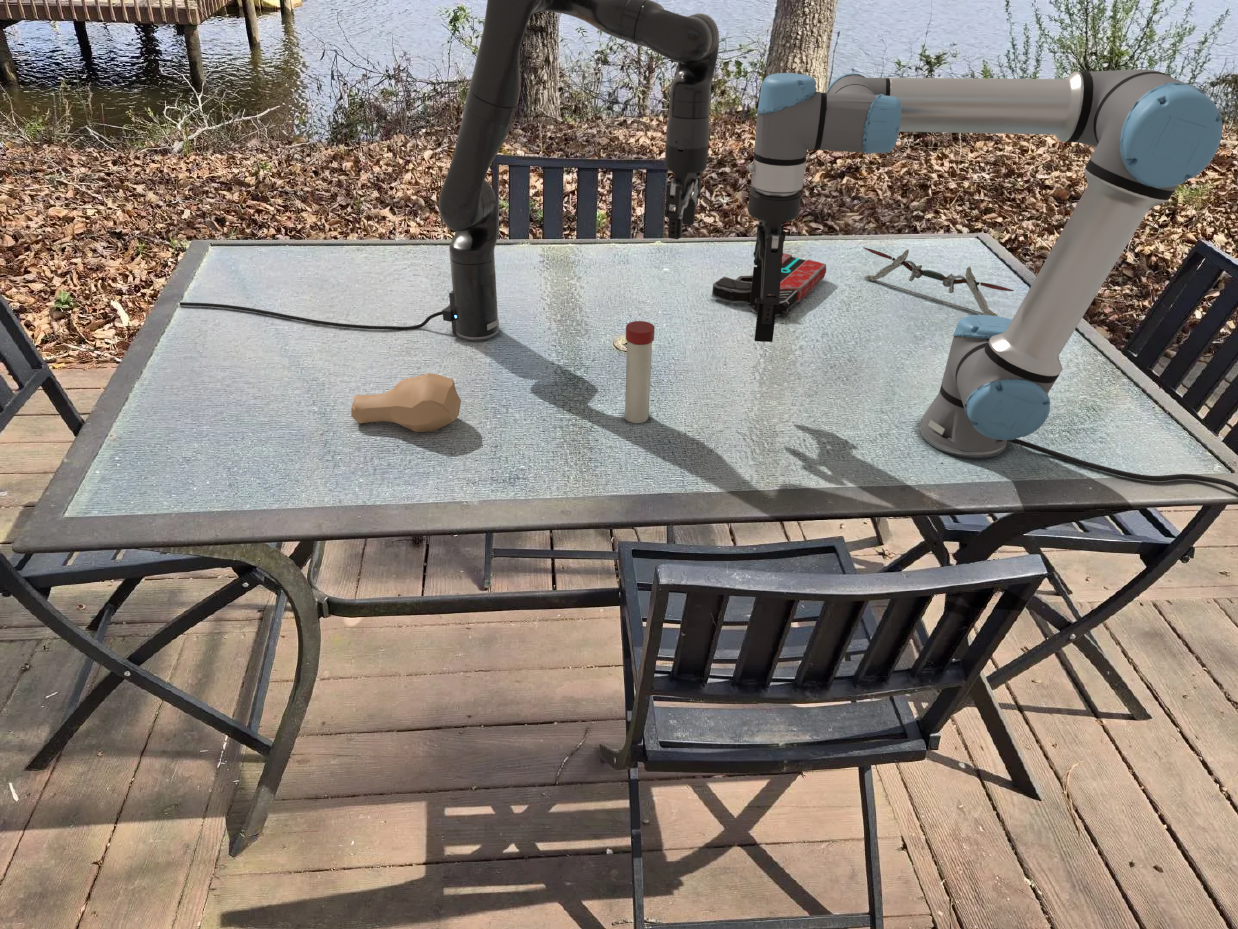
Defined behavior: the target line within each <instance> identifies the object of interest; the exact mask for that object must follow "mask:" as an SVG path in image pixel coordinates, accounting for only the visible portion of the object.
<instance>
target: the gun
mask: <svg viewBox="0 0 1238 929" xmlns="http://www.w3.org/2000/svg"><path fill="white" fill-rule="evenodd" d="M826 273H827V264H826V263H823V262H820V261H816V260H812V259H802V258H799V257H795V256H793V255H792V254H791V253H784V252H783V256H782V268H781V282H780V297H779V298H780V302H779V305H777V309H776V317H777V316H780V317H784V318H787V317H788V315H789V311H788V310H790V309H791V308H792V307H793V306H794V305H795V304H798V303H799V302H801V301H802V300H803V299H804V298H805V297H807V296H808V295H809V294H810V293H811V292H812V291H813V290H814V289H815V287H817V285H818V284H820V283H821V282H822V280H823V279H824V278H825V276H826ZM752 278H753V274H752V275H751V274H750V275H740V276H738V277H737V278H735V279H734V278H731V277H727V276H722V277H720V279H717V281H715V282H713V283H712V291H711V297H713V298H714V299H716V300H719V301H723V302H727V303H730V304H750V297H751V287H752ZM749 308H750V310H751V312H753V313H755V314H757V312H758V306H750V305H749Z"/></svg>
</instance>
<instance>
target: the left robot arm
mask: <svg viewBox="0 0 1238 929" xmlns="http://www.w3.org/2000/svg"><path fill="white" fill-rule="evenodd" d="M540 12H550V13H558V14H564V15H568V16H571V17H574V18H576V19H579V20H582V21H583V22H585V23H587V24H589V25H590V26H592V27H594V28H595V29H597V30H599V31H601V32H602V33H603V34H606V35H609V36H611V37H613V38H616V39H620V40H622V41H624V42H628V43H631V44H634V45H638V46H640V47H645V48H648V49H649V50H651V51H653V52H655V53H657V54H658V55H660V56H663V57H664V58H666V59H668V60H670V61H673V62H675V63H678V64H677V70H676V75H675V77H674V78H673V81H672V82H671V86H670V89H669V90H670V91H669V108H668V119H667V122H666V133H665V134H666V136H665V151H664V152H665V154H664V167H665V169H667V170H668V171H671V172H672V173H673V179H672V180H671V182H667V184H666V186H665V187H666V188H665V189H666V191H665V203H664V204H665V205H664V213H663V214H664V218H668V232H667V234H668V235H667V237H668V238H669V239H672V240H680V238H681V236H682V225H685V226H686V225H687V226H693V225H694V224H695V220H696V219H695V218H696V205H697V204H698V202H699V201H698V199H700V198H701V195H702V194H701V193H702V192H701V191H702V176H703V172H704V171H705V170H706V169H707V166H708V165H707V164H708V153H709V142H710V110H711V109H710V108H711V99H712V98H711V97H712V96H711V95H712V94H711V93H712V91H711V89H712V83H713V80H714V74H715V70H716V67H717V66H716V65H717V60H718V55H719V48H720V31H719V28H718V24H717V23H716V21H715V20H714V19H713V18H712V17H711V16H710V15H708V14H705V13H694V14H691V15H689V16H686V15H683V14H679V13H677V12H676V13H675V12H673V11H670V10H667V9H665V7H663V5H661V4H660V3H659V2H656V1H654V0H486V8H485V15H484V23H483V30H482V35H481V39H480V43H479V47H478V51H477V54H476V59H475V63H474V68H473V72H472V75H471V79H470V82H469V86H468V89H467V94H466V99H465V103H464V107H463V113H462V117H461V122H460V125H459V130H458V134H457V138H456V143H455V148H454V152H453V156H452V158H451V163H450V165H449V168H448V171H447V174H446V177H445V179H444V181H443V185H442V187H441V190H440V192H439V197H438V206H437V207H438V212H439V217H440V218H441V220H442V222H443V223H444V224H445V226H446V227H447V228H449V229H450V230H452V231H455V233H454V236H453V238H452V240H451V241H450V244H449V246H448V250H449V263H450V264H449V265H450V275H451V276H450V277H451V286H452V290H451V291H450V292H448V297H449V305H448V306H446V307H444V308H443V309H442V310H440V311H438V312H437V311H436V312H435V313H432V314H430V315H429V316H427V317H426V318H425V319H424V320H423V321H422V322H421V323H419V324H415V325H412V326H410V325H409V326H395V325H364V324H353V323H341V322H331V321H325V320H318V319H311V318H305V317H301V316H295V315H290V314H285V313H281V312H275V311H270V310H263V309H258V308H254V307H253V308H252V307H247V306H239V305H231V304H221V303H210V302H187V301H185V302H183V301H181V302H180V301H179V306H183V307H184V306H186V307H206V308H207V307H208V308H222V309H230V310H239V311H244V312H252V313H258V314H264V315H267V316H273V317H278V318H282V319H283V318H284V319H289V320H295V321H299V322H304V323H311V324H316V325H324V326H332V327H338V328H339V327H340V328H349V329H364V330H395V331H396V330H397V331H408V330H417V329H421V328H423V327H425V326H426V325H427V324H428V322H430V320H432V319H434V318H436V317H439V316H442V319H443V321H445V322H448V323H449V322H450V323H451V332H452V334H453V335H456V336H457V337H458V338H460V339H462V340H464V341H470V342H479V341H481V342H482V341H486V340H487V341H488V340H491V339H493V338H494V337H495V338H496V337H497V335H499V333H500V327H499V325H500V319H499V312H498V311H499V310H498V296H497V295H498V294H497V293H498V292H497V276H496V275H497V274H496V261H495V259H496V258H495V248H496V245H497V240H498V207H497V206H498V205H497V198H496V194H495V192H494V189H493V187H492V185H491V184H490V183H489V182H488V181H487V180H486V177H487V174H488V171H489V169H490V167H491V165H492V163H493V161H494V160H495V158H496V156H497V154H498V153H499V151H500V149H501V148H502V146H503V145H504V142H505V140H506V139H507V136H508V134H509V133H510V130H511V128H512V125H513V122H514V120H515V115H516V112H517V108H518V104H519V102H520V101H519V100H520V95H521V72H520V53H521V45H522V41H523V39H524V36H525V33H526V29H527V26H528V24H529V21H530V19H531V16H532V14H536V13H540ZM674 208H675V210H674Z"/></svg>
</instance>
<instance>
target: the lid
mask: <svg viewBox="0 0 1238 929" xmlns="http://www.w3.org/2000/svg"><path fill="white" fill-rule="evenodd" d="M655 328H656V327H655V325H654V324H653V323H652V322H649V321H646V320H645V321H644V320H635V321H631V322H628V323H627V324H626V325H625V340H626V342H627V341H628V342H630V343H633V344H639V345H643V344H649V343H651V342H652V343H653V342H654V340H655V330H656V329H655Z"/></svg>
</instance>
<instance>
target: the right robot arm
mask: <svg viewBox="0 0 1238 929" xmlns="http://www.w3.org/2000/svg"><path fill="white" fill-rule="evenodd" d="M757 106H758V107H757V113H756V114H757V115H756V123H755V124H756V125H755V136H754V137H755V138H754V147H753V148H754V149H753V161H752V162H753V164H749V165H748V167H747V171H748V172H752V173H751V179H750V185H751V186H752V187H751V189H750V190H749V196H748V205H747V206H748V207H747V213H748V214H749V216H750V217H752V218H753V219H756V220H758V224H757V225H756V240H755V246H754V251H753V258H754V259H753V264H754V266H753V268H752V269H753V270H752V275H753V278H752V287H751V297H750V303H749V307H750V306H758V312H757V313H756V321H755V330H754V342H761V343H762V342H763V343H773V341H774V340H773V339H774V331H775V325H776V324H775V323H776V317H777V316H776V309H777V305H779V302H780V298H779V297H780V282H781V268H782V256H783V253H784V243H785V240H786V230H785V225H783V223H786V222H791V221H794V220H795V219H797V218H798V217H799V214H800V209H801V208H800V207H801V201H802V193H801V191H800V190H802V189H803V187H804V182H805V172H806V165H807V153H808V150H814V151H831V152H832V151H833V152H848V153H859V154H860V153H861V154H865V155H870V154H887V153H890V152H892V151H893V149H894V148H895V146H896V144H897V141H898V137H899V135H900V134H899V133H900V132H903V133H905V132H906V133H947V134H949V133H950V134H952V133H953V134H999V135H1000V134H1002V135H1003V134H1006V135H1007V134H1008V135H1054V136H1055V137H1056V139H1057V140H1058V141H1059V142H1061V143H1077V144H1083V145H1088V146H1092V147H1095V148H1094V150H1093V152H1092V154H1091V156H1090V157H1089V159H1088V161H1087V163H1086V165H1085V166H1084V169H1083V172H1084V175H1085V178H1086V181H1087V186H1086V188H1085V190H1084V192H1083V193H1082V195H1081V197H1080V198H1079V200H1078V202H1077V204H1076V205H1075V207H1074V209H1073V211H1072V213H1071V215H1070V216H1069V218H1068V220H1067V222H1066V224H1065V225H1064V227H1063V229H1062V231H1061V233H1060V234H1059V236H1058V238H1057V239H1056V241H1055V243H1054V245H1053V246H1052V247H1051V250H1050V251H1049V254H1048V255H1047V257H1046V259H1045V260H1044V263H1043V264H1042V265H1041V267H1040V269H1039V271H1038V273H1037V275H1036V277H1035V279H1034V280H1033V281H1032V284H1031V285H1030V287H1029V289H1028V291H1027V293H1026V294H1025V296H1024V298H1023V300H1022V301H1021V303H1020V305H1019V307H1018V308H1017V311H1016V312H1015V314H1014V316H1013V317H1012V318H1009V317H1004V316H999V315H998V316H992V315H985V314H972V315H967V316H964V317H962V318H960V319H959V321H958V322H957V324H956V327H955V330H954V332H953V333H952V336H953V337H952V341H951V345H950V350H949V353H948V357H947V361H946V365H945V368H944V373H943V375H942V376H943V377H942V380H941V384H940V388H939V392H938V393H937V395H936V396H935V398H934V399H933V401H932V402H931V404H930V405H929V406H928V408H927V409H926V411H925V412H924V414H923V416H922V417H921V420H920V424H919V427H918V428H919V434H920V436H921V437H922V439H923V440H924V441H925V442H926V443H927V444H928V445H930V446H931V447H933V448H935V449H937V450H939V451H941V452H942V453H946V454H949V455H952V456H954V457H959V458H964V459H973V460H979V459H980V460H982V459H983V460H984V459H989V458H994V457H996V456H999V455H1000V454H1002V453H1003V452H1005V451H1006V448H1007V444H1008V443H1012V444H1016V445H1018V446H1021V447H1025V448H1027V449H1031V450H1034V451H1037V452H1039V453H1042V454H1046V455H1049V456H1051V457H1054V458H1058V459H1061V460H1064V461H1065V462H1066V461H1067V462H1069V463H1073V464H1076V465H1079V466H1082V467H1086V468H1089V469H1092V470H1096V471H1100V472H1104V473H1108V474H1111V475H1116V476H1120V477H1125V478H1129V479H1134V480H1140V481H1147V482H1148V481H1149V482H1168V481H1169V482H1170V481H1175V480H1176V481H1177V480H1191V481H1196V482H1197V481H1199V482H1205V483H1211V484H1217V485H1221V486H1225V487H1227V488H1230V489H1232V490H1233V491H1235V492H1236V493H1238V484H1236V483H1234V482H1233V481H1232V482H1231V481H1229V480H1225V479H1222V478H1217V477H1211V476H1205V475H1198V474H1190V473H1175V474H1169V475H1147V474H1140V473H1134V472H1129V471H1124V470H1120V469H1116V468H1112V467H1108V466H1104V465H1100V464H1097V463H1094V462H1089V461H1086V460H1083V459H1079V458H1077V457H1073V456H1070V455H1067V454H1065V453H1061V452H1058V451H1055V450H1051V449H1050V448H1046V447H1043V446H1040V445H1037V444H1034V443H1031V442H1028V441H1026V440H1022V439H1019V438H1025V437H1027V436H1029V435H1032V434H1033V433H1035V432H1036V431H1038V430H1040V428H1042V426H1043V425H1044V424H1045V422H1046V421H1047V420H1048V417H1049V415H1050V413H1051V412H1050V411H1051V399H1050V396H1049V393H1050V391H1051V389H1052V387H1054V384H1055V383H1056V381H1057V380H1058V378H1059V376H1060V375H1061V373H1062V371H1063V366H1062V363H1061V360H1060V355H1061V353H1062V351H1063V350H1064V348H1065V347H1066V345H1067V343H1068V342H1069V340H1070V338H1071V336H1073V333H1074V332H1075V330H1076V329H1077V327H1078V325H1079V324H1080V323H1081V320H1082V319H1083V318H1084V316H1085V314H1086V313H1087V311H1088V310H1089V308H1090V306H1091V304H1092V302H1093V301H1094V299H1095V298H1096V296H1097V295H1098V293H1099V291H1100V290H1101V288H1102V286H1103V285H1104V283H1105V281H1106V280H1107V278H1108V277H1109V275H1110V274H1111V272H1112V271H1113V268H1114V267H1115V265H1116V263H1117V262H1118V260H1119V259H1120V257H1121V255H1122V254H1123V252H1124V250H1125V249H1126V247H1127V246H1128V244H1129V243H1130V241H1131V239H1132V238H1133V237H1134V234H1135V233H1136V231H1137V230H1138V228H1139V227H1140V225H1141V223H1142V221H1143V220H1144V218H1145V217H1146V215H1147V213H1148V212H1149V210H1150V209H1153V208H1154V207H1157V206H1159V205H1163V204H1165V203H1168V202H1169V200H1170V199H1171V197H1172V195H1173V194H1174V193H1175V191H1176V189H1177V188H1178V186H1179V185H1182V184H1183V183H1185V182H1186V181H1189V180H1190V179H1194V178H1196V177H1197V176H1198V175H1199V174H1200V173H1201V172H1202V171H1204V170H1205V169H1206V168H1207V166H1209V164H1210V163H1211V162H1212V160H1213V159H1214V157H1215V156H1216V154H1217V152H1218V150H1219V147H1220V145H1221V141H1222V138H1223V137H1222V136H1223V120H1222V116H1221V113H1220V110H1219V108H1218V106H1217V105H1216V103H1215V102H1214V101H1213V100H1212V99H1211V98H1210V97H1209V96H1208V95H1207V94H1206V93H1204V92H1203V91H1202V90H1201V89H1200V88H1198V87H1196V86H1193V85H1191V84H1189V83H1186V82H1184V81H1181V80H1179V79H1177V78H1174V77H1173V76H1171V75H1169V74H1167V73H1165V72H1162V71H1160V70H1154V69H1153V70H1152V69H1143V68H1141V69H1140V68H1139V69H1119V70H1097V71H1096V70H1095V71H1093V70H1092V71H1073V72H1071V74H1069V75H1068V76H1067V77H1066V78H975V77H974V78H972V77H971V78H969V77H968V78H967V77H966V78H965V77H964V78H963V77H959V78H957V77H955V78H954V77H951V78H950V77H936V78H935V77H866V76H865V75H862V74H860V73H857V72H855V73H854V72H848V73H844V74H841V75H839V76H838V77H836V78H835V79H834V80H833V81H832V82H830V84H829V85H828V86H827V90H826V92H822V91H818V90H817V82H816V79H815V78H814V77H813V76H812V75H808V74H803V73H795V72H777V73H772V74H769V75H767V76H766V77H765V78H764V79H763V80H762V82H761V85H760V92H759V100H758V105H757Z"/></svg>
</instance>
